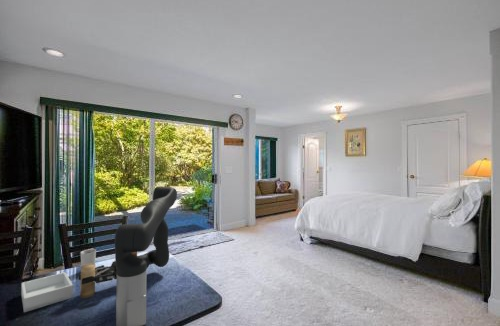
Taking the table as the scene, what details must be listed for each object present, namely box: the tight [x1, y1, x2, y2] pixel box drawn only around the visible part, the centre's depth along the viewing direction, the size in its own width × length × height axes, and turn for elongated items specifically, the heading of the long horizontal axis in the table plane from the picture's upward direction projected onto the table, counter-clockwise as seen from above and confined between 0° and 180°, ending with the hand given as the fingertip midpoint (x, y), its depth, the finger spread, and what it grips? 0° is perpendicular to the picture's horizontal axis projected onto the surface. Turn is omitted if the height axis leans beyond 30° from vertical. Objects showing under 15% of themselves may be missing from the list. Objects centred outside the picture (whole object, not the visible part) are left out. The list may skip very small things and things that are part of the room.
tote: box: [20, 271, 74, 313], centre depth 100 cm, size 18×15×5 cm
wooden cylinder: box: [79, 263, 96, 299], centre depth 101 cm, size 5×5×12 cm
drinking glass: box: [80, 248, 97, 267], centre depth 124 cm, size 7×7×10 cm
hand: (80, 279), depth 99 cm, fingers closed on wooden cylinder, 5 cm apart
